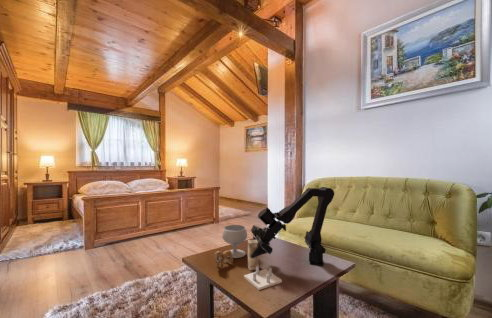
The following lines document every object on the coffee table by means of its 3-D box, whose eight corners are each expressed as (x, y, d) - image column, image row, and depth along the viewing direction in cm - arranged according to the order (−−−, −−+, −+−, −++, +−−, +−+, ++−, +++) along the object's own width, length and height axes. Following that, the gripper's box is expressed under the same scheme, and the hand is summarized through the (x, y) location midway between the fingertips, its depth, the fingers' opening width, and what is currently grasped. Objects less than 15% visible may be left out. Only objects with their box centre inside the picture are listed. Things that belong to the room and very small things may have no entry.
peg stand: (265, 271, 112) (265, 262, 112) (281, 282, 101) (281, 273, 101) (244, 277, 106) (244, 268, 106) (258, 290, 95) (258, 280, 95)
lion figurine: (220, 272, 110) (220, 253, 110) (211, 270, 113) (211, 251, 113) (235, 260, 123) (235, 243, 123) (227, 258, 126) (227, 242, 126)
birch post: (256, 265, 118) (256, 239, 118) (258, 269, 113) (258, 242, 113) (247, 266, 117) (247, 240, 117) (249, 270, 112) (249, 243, 112)
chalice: (247, 259, 124) (247, 231, 124) (220, 259, 125) (220, 231, 125) (247, 249, 138) (247, 224, 138) (223, 249, 139) (223, 224, 139)
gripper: (256, 215, 125) (236, 237, 123) (265, 225, 107) (241, 251, 105) (270, 229, 126) (250, 251, 124) (282, 241, 108) (259, 267, 106)
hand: (250, 254), depth 115 cm, fingers open, 6 cm apart
